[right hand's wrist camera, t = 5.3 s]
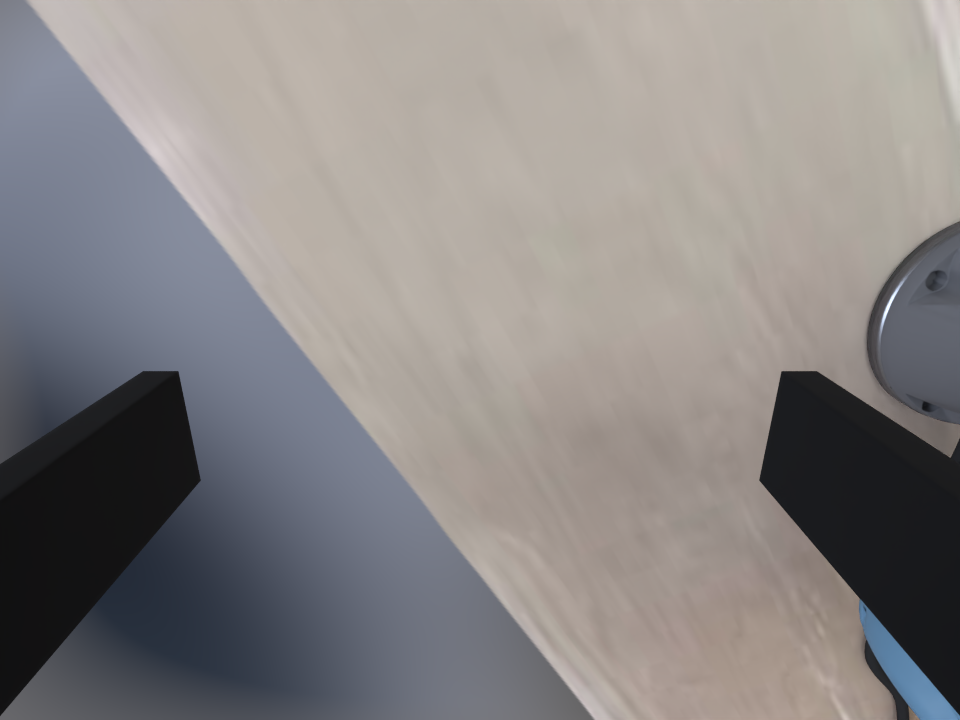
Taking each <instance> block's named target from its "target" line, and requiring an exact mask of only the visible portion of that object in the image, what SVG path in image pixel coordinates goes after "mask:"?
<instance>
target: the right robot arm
mask: <svg viewBox="0 0 960 720" xmlns="http://www.w3.org/2000/svg"><path fill="white" fill-rule="evenodd" d="M867 346H868V355H869V361H870V364H871V367H872V370H873V372H874V374H875V376H876V378H877V380H878V381H879V383H880V384H881V386H882V387H883V388H884V389H885V390H886V391H887V392H888V393H889V394H890V395H891V396H892V397H894V398H895V399H896V400H898V401H900V402H901V403H903V404H905V405H906V406H908V407H910V408H911V409H913V410H915V411H917V412H919V413H921V414H924V415H926V416H929V417H932V418H934V419H938V420H941V421H945V422H950V423H955V424H960V222H958V223H956V224H954V225H951V226H949V227H947V228H945V229H944V230H942V231H940V232H938V233H937V234H935V235H934V236H932V237H931V238H929V239H928V240H926V241H925V242H924V243H923V244H921V245H920V246H919V247H918V248H916V249H915V250H914V251H913V252H912V253H911V254H910V255H909V256H908V257H907V258H906V259H905V260H904V261H903V262H902V263H901V264H900V265H899V266H898V268H897V269H896V270H895V271H894V273H893V274H892V275H891V277H890V278H889V280H888V281H887V283H886V284H885V286H884V288H883V289H882V291H881V293H880V295H879V297H878V299H877V301H876V303H875V306H874V309H873V312H872V315H871V319H870V323H869V328H868V339H867ZM759 481H760V482H761V483H762V484H763V485H764V486H765V488H766V489H767V490H768V491H769V492H770V494H771V495H772V496H773V497H774V498H775V499H776V501H777V502H778V503H779V504H780V505H781V506H782V508H783V509H784V510H785V511H786V512H787V513H788V515H789V516H790V517H791V518H792V519H793V521H794V522H795V523H796V524H797V525H798V526H799V528H800V529H801V530H802V531H803V532H804V533H805V535H806V536H807V537H808V538H809V539H810V540H811V542H812V543H813V544H814V545H815V546H816V548H817V549H818V550H819V551H820V552H821V553H822V555H823V556H824V557H825V558H826V559H827V560H828V562H829V563H830V564H831V565H832V566H833V568H834V569H835V570H836V571H837V572H838V573H839V575H840V576H841V577H842V578H843V579H844V580H845V582H846V583H847V584H848V585H849V586H850V587H851V589H852V590H853V591H854V592H855V593H856V595H857V596H858V597H859V598H860V601H859V613H860V620H861V623H862V626H863V630H864V633H865V637H866V639H867V640H866V644H865V658H866V661H867V664H868V666H869V667H870V669H871V670H872V672H873V673H874V675H875V676H876V677H877V678H878V679H879V680H880V681H881V682H882V683H883V684H884V685H885V687H886V688H887V689H888V690H889V691H890V692H891V694H892V695H893V697H894V700H895V703H896V710H897V720H909V709H908V705H909V707H910V708H911V709H912V710H913V712H914V713H915V714H916V715H917V716H918V718H919V719H920V720H960V439H959V441H958V444H957V446H956V448H955V450H954V452H953V455H952V457H951V458H949V457H948V456H946V455H945V454H943V453H942V452H940V451H939V450H937V449H936V448H934V447H933V446H931V445H929V444H928V443H926V442H925V441H923V440H922V439H920V438H919V437H917V436H916V435H914V434H913V433H911V432H909V431H908V430H906V429H905V428H903V427H902V426H900V425H899V424H897V423H896V422H894V421H893V420H891V419H889V418H888V417H886V416H885V415H883V414H882V413H880V412H879V411H877V410H876V409H874V408H873V407H871V406H869V405H868V404H866V403H865V402H863V401H862V400H860V399H859V398H857V397H856V396H854V395H853V394H851V393H849V392H848V391H846V390H845V389H843V388H842V387H840V386H839V385H837V384H836V383H834V382H833V381H831V380H829V379H828V378H826V377H825V376H823V375H822V374H820V373H819V372H817V371H782V372H781V377H780V382H779V387H778V392H777V397H776V401H775V406H774V411H773V416H772V421H771V426H770V431H769V436H768V440H767V445H766V450H765V455H764V460H763V465H762V470H761V475H760V479H759ZM199 482H200V475H199V470H198V465H197V460H196V455H195V450H194V445H193V440H192V436H191V431H190V426H189V421H188V416H187V411H186V406H185V402H184V397H183V392H182V387H181V382H180V377H179V372H178V371H143V372H141V373H140V374H138V375H137V376H135V377H134V378H132V379H131V380H129V381H128V382H126V383H124V384H123V385H121V386H120V387H118V388H117V389H115V390H114V391H112V392H111V393H109V394H107V395H106V396H104V397H103V398H101V399H100V400H98V401H97V402H95V403H94V404H92V405H91V406H89V407H87V408H86V409H84V410H83V411H81V412H80V413H78V414H77V415H75V416H74V417H72V418H71V419H69V420H67V421H66V422H64V423H63V424H61V425H60V426H58V427H57V428H55V429H54V430H52V431H51V432H49V433H47V434H46V435H44V436H43V437H41V438H40V439H38V440H37V441H35V442H34V443H32V444H31V445H29V446H27V447H26V448H25V449H23V450H21V451H20V452H18V453H17V454H15V455H14V456H12V457H11V458H9V459H7V460H6V461H4V462H3V463H1V464H0V716H1V714H2V713H3V712H4V711H5V710H6V708H7V707H8V706H9V705H10V704H11V703H12V701H13V700H14V699H15V698H16V697H17V696H18V694H19V693H20V692H21V691H22V690H23V688H24V687H25V686H26V685H27V684H28V683H29V681H30V680H31V679H32V678H33V677H34V676H35V674H36V673H37V672H38V671H39V670H40V669H41V667H42V666H43V665H44V664H45V663H46V661H47V660H48V659H49V658H50V657H51V656H52V654H53V653H54V652H55V651H56V650H57V649H58V647H59V646H60V645H61V644H62V643H63V641H64V640H65V639H66V638H67V637H68V636H69V634H70V633H71V632H72V631H73V630H74V629H75V627H76V626H77V625H78V624H79V623H80V622H81V620H82V619H83V618H84V617H85V616H86V614H87V613H88V612H89V611H90V610H91V609H92V607H93V606H94V605H95V604H96V603H97V602H98V600H99V599H100V598H101V597H102V596H103V594H104V593H105V592H106V591H107V590H108V589H109V587H110V586H111V585H112V584H113V583H114V582H115V580H116V579H117V578H118V577H119V576H120V575H121V573H122V572H123V571H124V570H125V569H126V567H127V566H128V565H129V564H130V563H131V562H132V560H133V559H134V558H135V557H136V556H137V555H138V553H139V552H140V551H141V550H142V549H143V548H144V546H145V545H146V544H147V543H148V542H149V540H150V539H151V538H152V537H153V536H154V535H155V533H156V532H157V531H158V530H159V529H160V528H161V526H162V525H163V524H164V523H165V522H166V521H167V519H168V518H169V517H170V516H171V515H172V513H173V512H174V511H175V510H176V509H177V507H178V506H179V505H180V504H181V503H182V502H183V501H184V499H185V498H186V497H187V496H188V495H189V494H190V492H191V491H192V490H193V489H194V488H195V486H196V485H197V484H198V483H199Z"/></svg>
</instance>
